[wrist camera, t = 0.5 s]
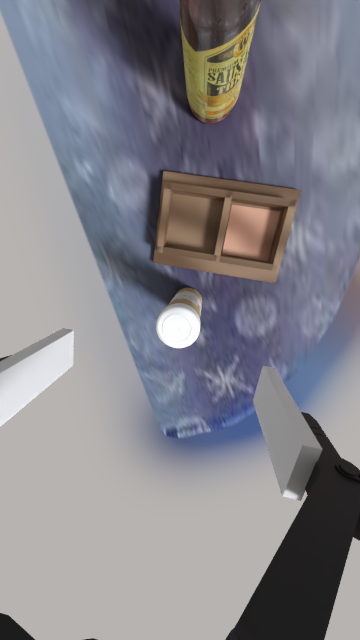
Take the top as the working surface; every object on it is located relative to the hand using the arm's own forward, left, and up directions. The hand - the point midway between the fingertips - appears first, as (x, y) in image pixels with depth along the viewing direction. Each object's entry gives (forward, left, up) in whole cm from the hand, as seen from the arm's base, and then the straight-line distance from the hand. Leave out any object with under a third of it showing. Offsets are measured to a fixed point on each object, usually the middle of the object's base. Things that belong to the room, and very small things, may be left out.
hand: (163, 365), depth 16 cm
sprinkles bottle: (0, 0, -22) cm, 22 cm away
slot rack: (-11, +3, -21) cm, 24 cm away
